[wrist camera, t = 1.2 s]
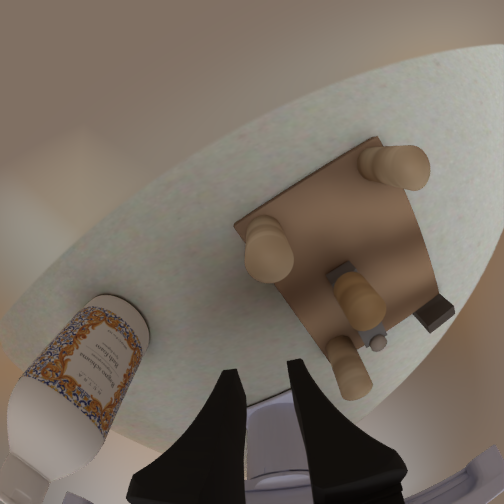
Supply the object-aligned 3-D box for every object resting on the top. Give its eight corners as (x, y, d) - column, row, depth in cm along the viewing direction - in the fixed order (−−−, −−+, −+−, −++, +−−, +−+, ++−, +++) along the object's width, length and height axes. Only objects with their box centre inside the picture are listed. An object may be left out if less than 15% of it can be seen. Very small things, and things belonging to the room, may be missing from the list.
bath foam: (166, 337, 22) (88, 552, 3) (123, 363, 24) (47, 527, 5) (113, 278, 21) (-40, 468, 2) (76, 313, 22) (-39, 462, 3)
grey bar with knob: (384, 328, 21) (409, 365, 16) (361, 342, 21) (381, 382, 16) (349, 256, 19) (378, 288, 14) (322, 274, 19) (342, 311, 14)
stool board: (435, 296, 21) (473, 330, 15) (332, 363, 23) (349, 413, 17) (371, 137, 17) (419, 130, 11) (234, 223, 19) (226, 252, 13)
